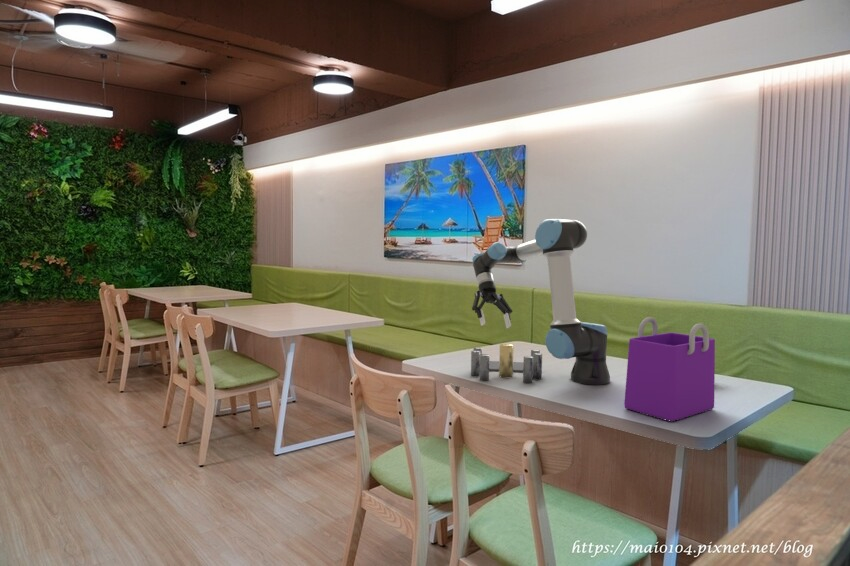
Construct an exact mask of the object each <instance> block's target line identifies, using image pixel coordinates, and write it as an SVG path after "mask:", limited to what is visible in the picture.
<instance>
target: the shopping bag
mask: <svg viewBox="0 0 850 566" xmlns="http://www.w3.org/2000/svg"><path fill="white" fill-rule="evenodd" d="M648 323H651V327H652V329H651V331H652V332H651V335H650V334H649V335H645V336H644V330H645V327H646V325H647V324H648ZM658 328H659V327H658V321H657V320H656V319H655V317H652V316H648V317H645V318H644V319H642V321H641V322H640V324H639V326H638V330H637V337H631V338H629V342H628V354H627V366H626V379H625V391H624V392H625V393H624V403H623V405H624V408H625V409H626V408H627V409H626V410H628V409H630V410H629V411H631V410H633V411H632V412H635V411H637V412H636V413H638V412H641V413H640V414H642V413H644V414H643V415H645V414H648V415H651V416H650V417H652V416H655V417H658V418H657V419H659V418H662V419H666V420H670V421H674V422H676V421H675V420H677V421H679V420H678V419H680V420H683V419H686V418H685V417H687V418H689V417H688V416H690V417H692V416H691V415H693V416H695V415H694V414H696V415H698V414H697V413H699V414H701V412H702V413H705V412H708V411H711V410H713V409H714V408H715V375H716V374H715V371H716V370H715V369H716V366H715V364H716V363H715V362H716V361H715V359H716V358H715V357H716V354H715V353H716V352H715V350H716V346H715V345H716V340H715V338H710V335H709V330H708V328H707V326H706V325H705V324H704V323H696V324H694V325H693V326H692V328H691V329H690V332H689V334H684V333H679V332H664V333H658V331H659V330H658ZM699 329H700V330H701V333H702V336H698V335H697V333H698V330H699ZM710 409H711V410H710ZM707 410H708V411H707ZM704 411H705V412H704ZM648 415H647V416H648ZM655 417H654V418H655ZM682 418H683V419H682ZM662 419H661V420H662ZM666 420H665V421H666Z"/></svg>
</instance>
